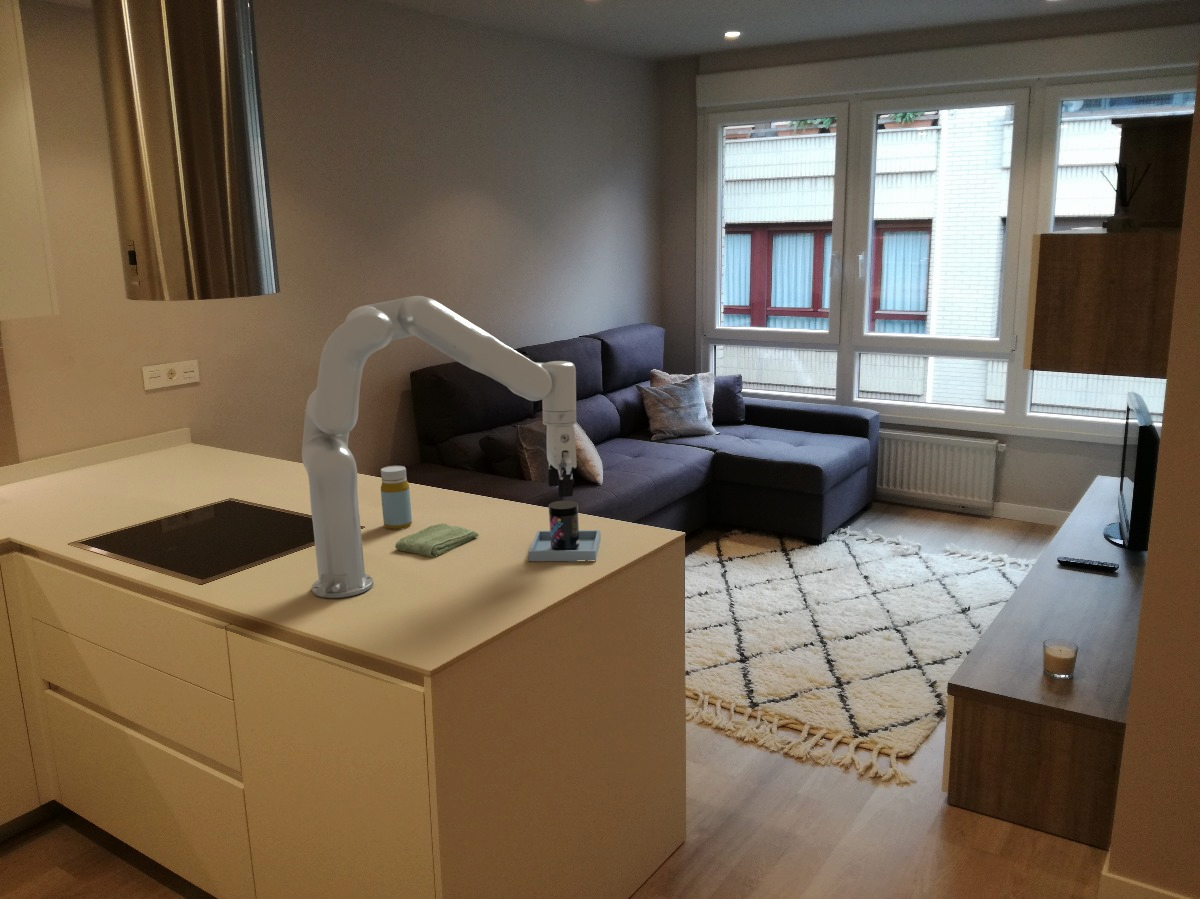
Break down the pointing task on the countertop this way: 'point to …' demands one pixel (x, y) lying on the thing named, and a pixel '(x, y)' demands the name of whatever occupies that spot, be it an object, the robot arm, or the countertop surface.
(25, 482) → the countertop surface
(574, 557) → the tray
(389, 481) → the bottle
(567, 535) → the supplement container
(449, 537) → the washcloth
